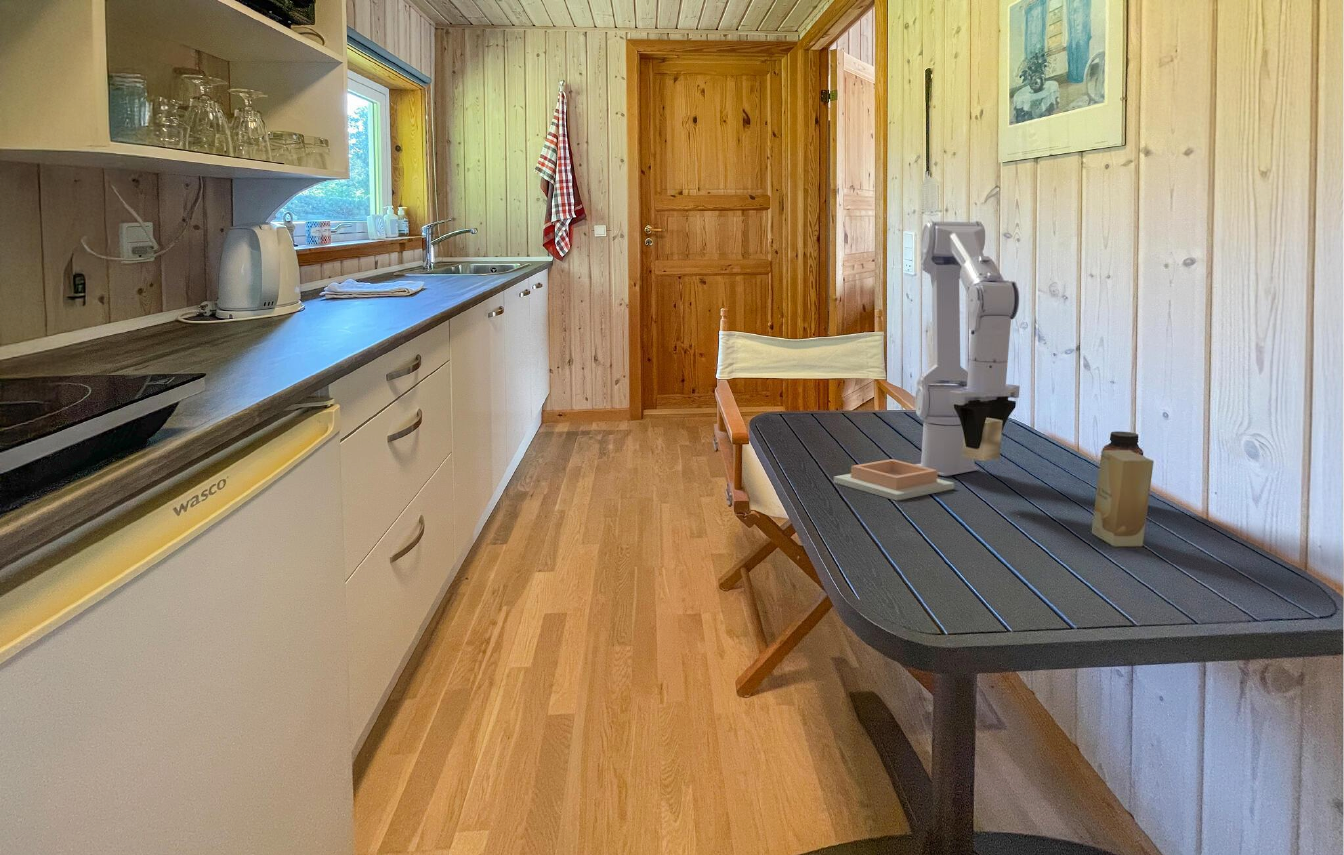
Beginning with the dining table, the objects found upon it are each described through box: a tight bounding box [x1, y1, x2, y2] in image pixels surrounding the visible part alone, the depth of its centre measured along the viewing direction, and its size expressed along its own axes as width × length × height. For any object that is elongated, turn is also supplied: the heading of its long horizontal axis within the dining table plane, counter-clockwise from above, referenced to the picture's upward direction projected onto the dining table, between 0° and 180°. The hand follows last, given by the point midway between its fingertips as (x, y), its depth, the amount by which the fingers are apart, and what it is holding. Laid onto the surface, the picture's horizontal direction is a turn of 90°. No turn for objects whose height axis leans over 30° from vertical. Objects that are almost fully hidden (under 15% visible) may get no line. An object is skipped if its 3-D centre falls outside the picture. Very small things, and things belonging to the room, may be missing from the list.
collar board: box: [833, 458, 955, 501], centre depth 162 cm, size 14×14×3 cm
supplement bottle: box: [1101, 430, 1144, 456], centre depth 152 cm, size 6×6×11 cm
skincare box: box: [1091, 450, 1155, 547], centre depth 132 cm, size 6×4×12 cm
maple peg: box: [962, 418, 1003, 462], centre depth 151 cm, size 4×4×6 cm
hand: (981, 446), depth 152 cm, fingers closed on maple peg, 4 cm apart
